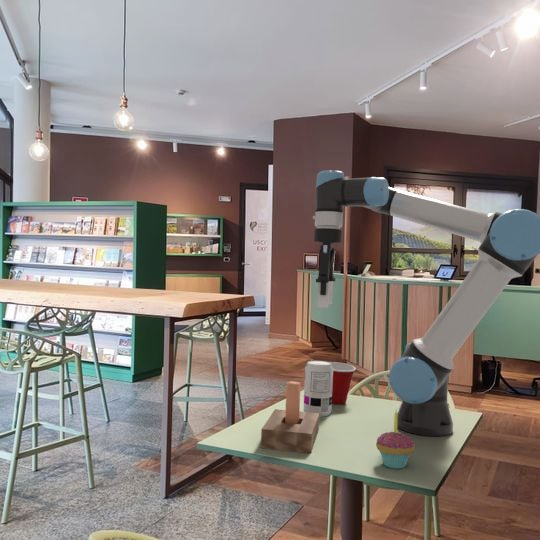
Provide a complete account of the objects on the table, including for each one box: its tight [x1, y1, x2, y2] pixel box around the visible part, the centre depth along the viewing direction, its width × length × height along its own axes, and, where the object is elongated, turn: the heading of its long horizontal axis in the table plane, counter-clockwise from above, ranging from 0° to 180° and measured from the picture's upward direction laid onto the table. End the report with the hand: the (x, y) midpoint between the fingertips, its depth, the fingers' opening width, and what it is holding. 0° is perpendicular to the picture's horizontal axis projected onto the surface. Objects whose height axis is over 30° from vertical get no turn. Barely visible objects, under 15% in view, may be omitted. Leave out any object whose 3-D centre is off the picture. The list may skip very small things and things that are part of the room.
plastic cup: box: [329, 361, 356, 405], centre depth 174 cm, size 11×11×12 cm
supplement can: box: [303, 360, 333, 418], centre depth 160 cm, size 8×8×15 cm
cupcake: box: [375, 412, 416, 470], centre depth 121 cm, size 9×8×12 cm
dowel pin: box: [285, 381, 301, 424], centre depth 136 cm, size 4×4×14 cm
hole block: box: [260, 408, 320, 454], centre depth 136 cm, size 12×18×4 cm, turn 169°
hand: (325, 306), depth 148 cm, fingers open, 13 cm apart
